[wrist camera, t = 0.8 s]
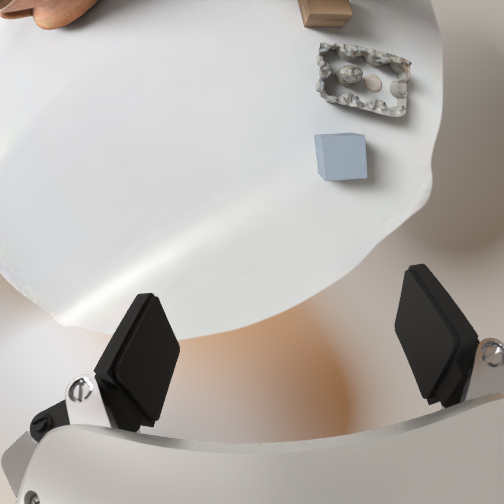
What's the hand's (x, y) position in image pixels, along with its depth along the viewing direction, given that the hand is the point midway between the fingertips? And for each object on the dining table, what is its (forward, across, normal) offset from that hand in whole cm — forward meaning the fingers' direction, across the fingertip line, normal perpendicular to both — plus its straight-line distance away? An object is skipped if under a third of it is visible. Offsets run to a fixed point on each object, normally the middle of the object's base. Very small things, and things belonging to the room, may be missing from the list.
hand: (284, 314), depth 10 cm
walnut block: (+24, -8, -20) cm, 32 cm away
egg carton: (+24, -12, -10) cm, 29 cm away
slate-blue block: (+24, -8, -2) cm, 25 cm away
